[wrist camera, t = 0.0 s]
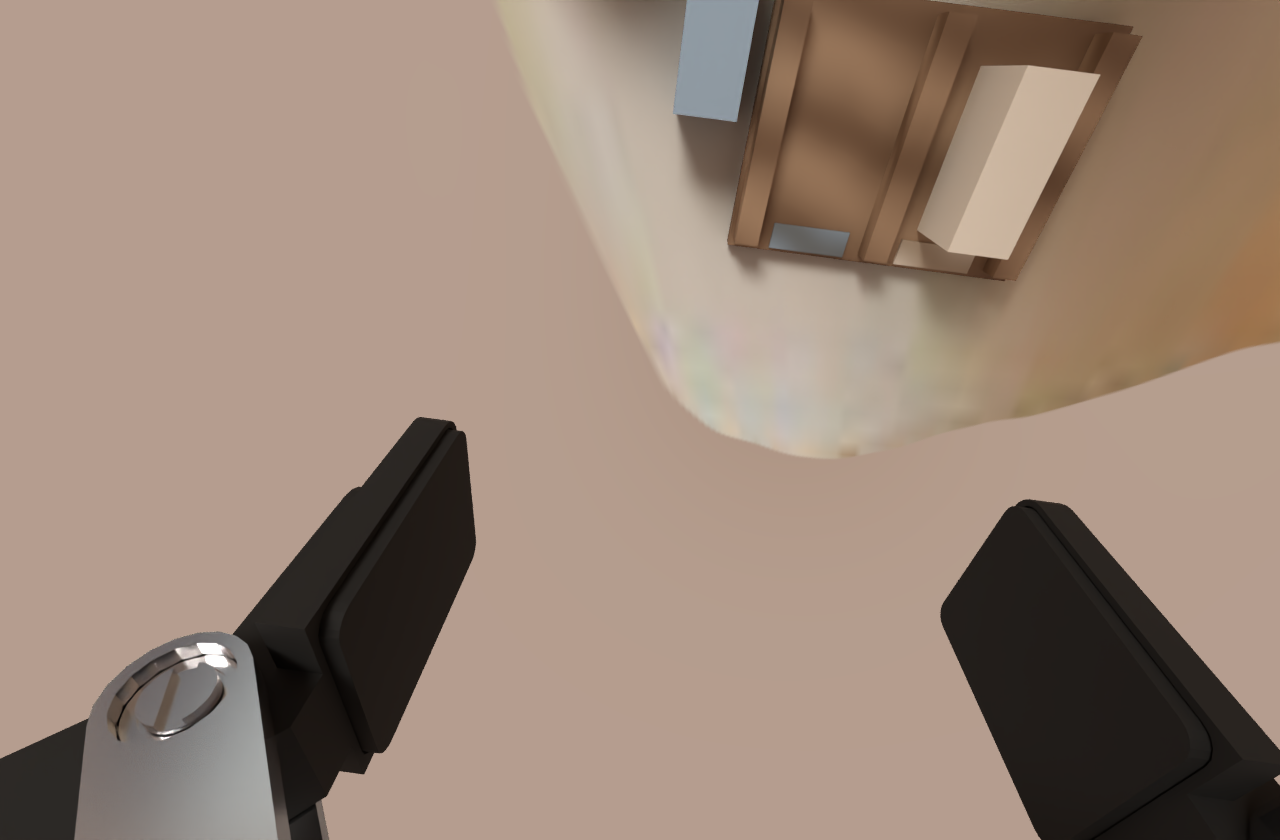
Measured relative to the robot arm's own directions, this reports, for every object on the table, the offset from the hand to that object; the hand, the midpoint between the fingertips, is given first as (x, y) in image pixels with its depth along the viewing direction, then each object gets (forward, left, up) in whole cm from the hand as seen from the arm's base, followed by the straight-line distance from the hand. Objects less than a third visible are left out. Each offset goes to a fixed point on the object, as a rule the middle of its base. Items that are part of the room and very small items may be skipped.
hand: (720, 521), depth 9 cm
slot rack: (-4, +12, -31) cm, 34 cm away
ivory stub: (-4, +16, -30) cm, 35 cm away
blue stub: (-9, 0, -31) cm, 33 cm away
